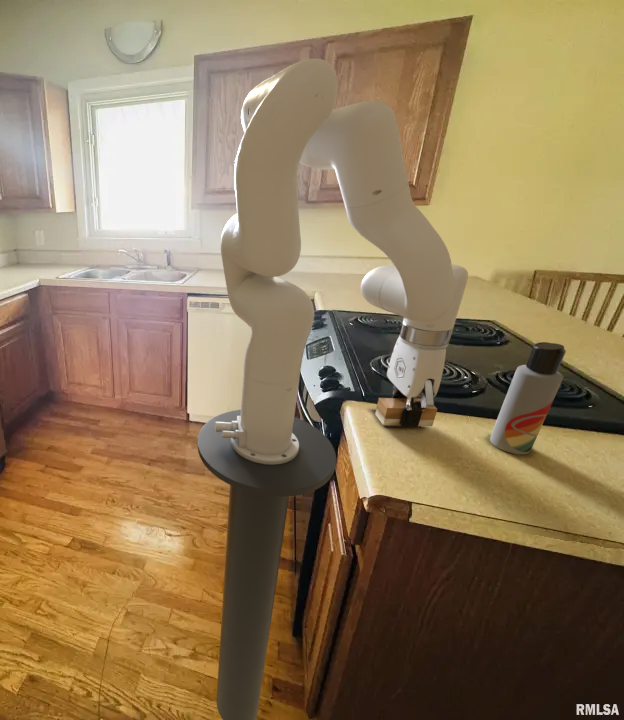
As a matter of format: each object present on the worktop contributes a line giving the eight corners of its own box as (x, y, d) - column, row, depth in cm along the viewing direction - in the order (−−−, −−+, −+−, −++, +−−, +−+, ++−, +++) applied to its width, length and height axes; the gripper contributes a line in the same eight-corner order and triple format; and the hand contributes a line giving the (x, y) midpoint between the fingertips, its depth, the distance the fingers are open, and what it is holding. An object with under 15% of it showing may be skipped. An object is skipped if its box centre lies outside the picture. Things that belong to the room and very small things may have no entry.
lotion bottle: (533, 458, 68) (581, 353, 60) (491, 449, 71) (532, 347, 63) (526, 441, 73) (570, 341, 64) (486, 433, 76) (524, 336, 67)
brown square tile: (383, 426, 79) (384, 425, 79) (371, 410, 84) (371, 409, 84) (421, 427, 78) (421, 426, 78) (406, 411, 83) (407, 410, 83)
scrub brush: (383, 425, 78) (387, 408, 76) (374, 414, 81) (378, 397, 80) (432, 426, 77) (437, 409, 75) (422, 415, 80) (426, 398, 79)
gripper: (383, 319, 79) (366, 397, 87) (426, 352, 64) (402, 443, 72) (423, 318, 78) (403, 398, 86) (477, 352, 63) (446, 445, 71)
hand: (402, 418), depth 79 cm, fingers closed on scrub brush, 4 cm apart
